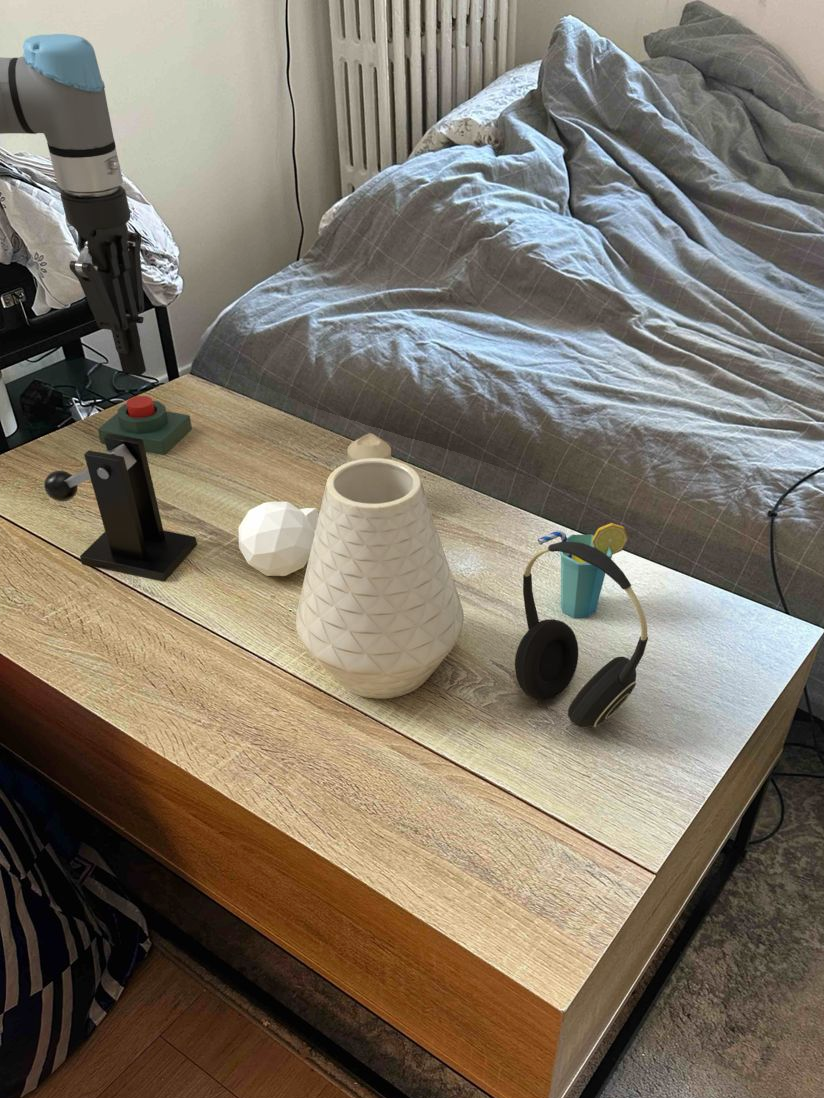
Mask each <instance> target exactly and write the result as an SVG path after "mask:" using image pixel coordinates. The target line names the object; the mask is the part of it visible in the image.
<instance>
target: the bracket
mask: <svg viewBox="0 0 824 1098" xmlns="http://www.w3.org/2000/svg"><path fill="white" fill-rule="evenodd" d="M104 440H105V444H104V445H105V449H106V452H107V451H109V450H111V449H113V448H115V447H117V446H120V445H122V444H124V445H125V446H126V447H127V449H128V450H129V451H130V453H131V454H132V455H133V457H134V458H135V459H136V461H137V462H136V463H135V464H134V465H133V466H131V467H130V468H129V469H128V470H127V468H126V463H125V459H124V457H122V456H117V455H112V454H106V452H101V451H96V450H90V449H89V450H87V451H86V452H85V453H83V457H84V460H85V463H86V467H87V468H88V471H89V475H90V478H91V479H90V482H91V484H92V488H93V489H92V490H93V492H94V496H95V499H96V503H97V507H98V511H99V515H100V518H101V521H102V526H103V529H104V531H103V533H102V534H101V535H100V536H98V538H97V539H95V541H93V543H91V544H90V545H89V547H88V548H87V549H85V550H84V551H83V552H82V553H81V554H80V555H79V559H80V562H81V565H83V566H89V567H93V568H98V569H103V570H108V571H113V572H118V573H123V574H127V575H132V576H137V577H142V578H146V579H152V580H155V581H161V582H166V581H167V580H168V579H169V578H170V576H171V575H172V574H174V572H175V571H176V570H177V568H178V567H180V565H181V564H182V563H183V562H184V560H185V559H187V557H188V556H189V555H190V554H191V552H192V551H193V550H194V549H195V548H196V547H197V545H198V542H197V537H196V536H194V535H190V534H189V535H188V534H185V533H178V532H173V531H168V530H164V527H163V522H162V518H161V514H160V510H159V509H160V508H159V505H158V501H157V496H156V492H155V487H154V483H153V478H152V474H151V469H150V465H149V460H148V455H147V452H146V451H145V447H144V443H143V440H142V439H137V438H131V437H126V436H120V435H115V434H109V433H108V434H107V435H106V436H105V437H104Z"/></svg>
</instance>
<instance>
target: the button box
mask: <svg viewBox="0 0 824 1098" xmlns="http://www.w3.org/2000/svg"><path fill="white" fill-rule="evenodd" d="M153 403H154V408H155V413H154V414H153V415H151V416H148V417H143V418H135V417H130V416H129V413H128V409H127V405H126V403H124V404H123V405H121V406H120V407H119V408H117V412H116V413H115V414H114V415H113V416H111V417H110V418H109V419H107V421H105V422H104V423H103V424H102V425H100V426H99V427H98V428H97V434H98V438H99V441H100V444H102V445H103V444H104V445H106V444H105V440H104V437H105V436H106V435H107V434H108V433H109V434H115V435H120V436H126V437H131V438H137V439H142V440H143V443H144V447H145V451H146V453H152V454H157V455H162V456H165V455H166V454H167V453H169V451H171V449H172V448H174V447H175V446H176V445H177V444H178V443H179V442H180V441H181V440H182V439H183V438H184V437H186V435H187V434H188V433H189V432H191V430H192V429H193V426H192V422H191V416H190V414H185V413H181V412H179V413H178V412H173V411H167V407H166V405H165V404H163V403H161V402H160V401H159V400H153Z"/></svg>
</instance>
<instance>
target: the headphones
mask: <svg viewBox="0 0 824 1098" xmlns="http://www.w3.org/2000/svg"><path fill="white" fill-rule="evenodd" d="M548 552H551V553H553V552H559V553H560V552H565V553H569V554H572V555H574V556H576V557H578V558H580V559H581V560H583V561H585V562H587V563H589V564H592V565H594V566H596V567H597V568H599V569H601V570H602V571H603V572H604V573H605V575H607V576H608V577H609V578H611V579H612V580H613V581H614V582H615V583H616V584H617V585H618V586H619V587H620V588H621V589H622V590H624V591H625V592H626V594H627V596H628V597H629V598H630V601H631V602H632V604H633V606H634V609H635V611H636V613H637V616H638V619H639V623H640V630H641V631H640V636H639V638H638V641H637V643H636V647H635V649H634V651H633V654H632V655H631V657H630V659H629V658H628V657H625V656H616V657H614V658H613V659H611V660H610V661H608V662H607V663H606V664H605V665H604V666H602V667H601V668H600V669H599V670H598V671H597V672H596V673H595V674H594V675H593V676H592V677H591V678H590V679H589V680H588V681H587V682H586V683H585V685H584V686H583V687H582V688H581V689H580V690H579V691H578V693H577V694H576V696H575V697H574V698H573V700H572V701H571V703H570V705H569V706H568V709H567V717H568V718H569V721H570V722H571V723H572V724H573V725H574V726H576V727H578V728H583V729H584V728H585V729H586V728H592V727H594V728H596V727H599V726H600V725H602V724H603V723H604V722H606V721H607V720H608V719H609V718H610V717H612V716H613V715H614V714H615V713H616V712H617V711H618V710H619V709H620V708H621V706H622V705H623V704H624V703H626V701H627V700H628V698H629V697H630V695H631V694H632V692H633V690H634V689H635V687H636V685H637V668H638V666H639V664H640V662H641V660H642V658H643V657H644V654H645V650H646V647H647V643H648V640H649V637H648V624H647V618H646V616H645V612H644V608H643V606H642V605H641V602H640V600H639V598H638V597H637V594H636V593H635V592H634V589H633V588H632V583H631V582H630V581H629V579H628V578H627V575H626V574H625V572H624V571H623V570H622V569H621V568H620V567H619V566H618V565H617V563H616V562H615V561H614V560H612V558H611V559H610V558H609V557H608V556H607V555H606V554H604V553H603V552H602V551H600V550H598V549H597V548H595V547H592V546H589V545H586V544H584V543H579V542H562V541H558V542H555V543H552V544H549V545H548V546H547V547H545V548H542V549H541V550H538V551H537V552H536V553H535V554H534V555H533V556H532V557H530V559H529V561H528V563H527V565H526V567H525V570H524V574H523V575H522V594H523V595H522V596H523V602H524V603H523V604H524V612H525V618H526V623H527V628H528V630H527V631H526V632H525V633H524V635H523V637H522V638H521V639H520V641H519V642H518V645H517V647H516V651H515V653H514V654H515V655H514V673H515V677H516V681H517V685H518V686H519V688H520V690H521V691H522V692H523V694H524V695H526V696H527V697H529V698H530V699H534V700H537V701H541V702H542V701H543V702H544V701H550V700H554V699H555V698H557V697H559V696H560V695H561V694H562V693H563V692H565V690H566V689H567V688H568V687H569V685H570V684H571V682H572V680H573V678H574V677H575V673H576V670H577V667H578V663H579V644H578V639H577V637H576V634H575V632H574V630H573V629H572V627H570V626H569V625H568V624H567V623H565V622H564V621H561V620H559V619H554V618H549V619H548V618H547V619H543V620H540V619H539V615H538V611H537V610H538V609H537V607H536V602H535V597H534V593H533V591H534V590H533V579H532V578H533V577H532V575H533V574H532V573H531V572H532V568H533V566H534V563H535V562H536V561H537V559H538V558H539V557H541V556H542V555H544V554H546V553H548Z"/></svg>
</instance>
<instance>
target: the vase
mask: <svg viewBox="0 0 824 1098" xmlns="http://www.w3.org/2000/svg"><path fill="white" fill-rule="evenodd" d="M318 515H319V517H318V522H317V526H316V530H314V539H313V543H312V548H311V552H310V556H309V560H308V561H307V564H306V566H307V567H306V570H305V574H304V579H303V583H302V586H301V591H300V596H299V599H298V605H297V608H296V613H295V630H296V633H297V637H298V640H300V643H301V645H302V646H303V648H304V649H305V650H306V651H307V653H308V654H309V655H310V656H311V657H312V658H313V659H314V660H315V661H316V662H317V663H318V664H319V665H320V666H321V667H322V668H323V669H324V670H325V672H327V674H329V676H330V677H332V678H333V679H334V680H335V681H336V682H337V683H338V684H339V685H340V686H341V687H342V688H343V689H345V690H346V691H348V692H350V693H352V694H354V695H356V696H360V697H363V698H369V699H377V700H379V699H380V700H381V699H384V700H385V699H393V698H398V697H402V696H405V695H408V694H410V693H412V692H414V691H416V690H417V689H419V688H420V687H421V686H423V685H424V683H426V682H427V680H428V679H429V678H430V677H431V675H432V674H433V673H434V672H435V670H436V669H437V668H438V667H439V665H441V663H442V662H443V661H444V659H445V658H446V657H447V656H448V654H449V653H450V652H451V651H452V650H453V648H454V647H455V646H456V644H457V642H458V641H459V639H460V637H461V636H462V635H461V634H462V631H463V628H464V623H465V622H464V621H465V616H464V608H463V604H462V601H461V599H460V598H461V597H460V595H459V592H458V590H457V586H456V583H455V580H454V577H453V574H452V572H451V568H450V565H449V561H448V559H447V556H446V553H445V550H444V546H443V544H442V541H441V537H440V534H439V532H438V528H437V524H436V522H435V520H434V516H433V513H432V509H431V507H430V504H429V501H428V498H427V494H426V492H425V489H424V485H423V482H422V479H421V477H420V475H419V473H418V472H417V471H416V470H415V469H414V468H412V466H409V465H407V464H406V463H404V462H401V461H398V460H394V459H391V460H390V459H383V458H367V459H359V460H355V461H351V462H348V461H347V462H345V463H344V464H343V463H342V464H341V465H339V466H338V467H336V468H335V469H334V470H333V471H332V472H331V473H330V474H329V475H328V477H327V479H326V483H325V488H324V491H323V496H322V501H321V505H320V510H319V512H318Z"/></svg>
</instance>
